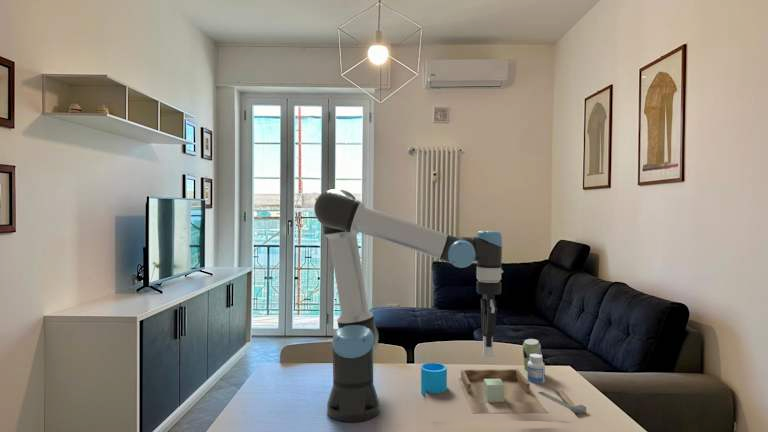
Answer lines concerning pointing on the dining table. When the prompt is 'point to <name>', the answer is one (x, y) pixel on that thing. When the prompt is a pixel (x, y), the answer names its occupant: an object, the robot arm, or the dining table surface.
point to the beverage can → (530, 350)
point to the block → (494, 390)
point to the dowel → (565, 398)
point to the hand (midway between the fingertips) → (487, 356)
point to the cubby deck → (514, 390)
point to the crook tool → (567, 405)
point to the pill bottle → (536, 369)
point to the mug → (433, 378)
